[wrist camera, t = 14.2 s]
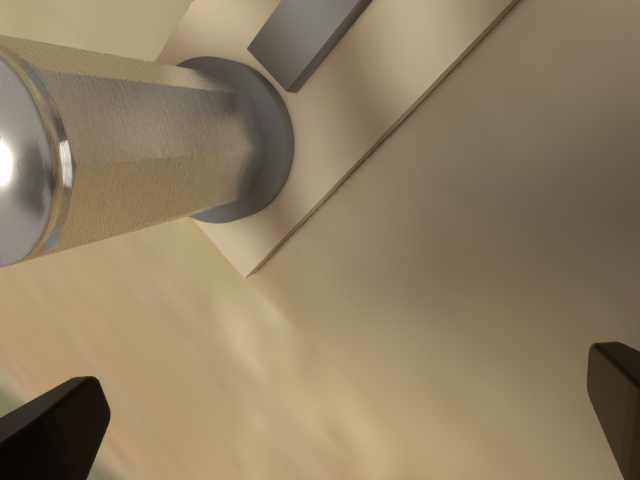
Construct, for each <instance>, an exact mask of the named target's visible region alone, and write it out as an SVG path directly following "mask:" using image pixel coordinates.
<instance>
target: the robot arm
mask: <svg viewBox="0 0 640 480" xmlns="http://www.w3.org/2000/svg"><path fill="white" fill-rule="evenodd" d="M587 390H588V395H589V398H590V400H591V403H592V405H593V408H594V410H595V412H596V415H597V417H598V419H599V422H600V424H601V426H602V429H603V431H604V434H605V436H606V438H607V441H608V443H609V445H610V448H611V450H612V452H613V455H614V457H615V460H616V462H617V464H618V467H619V469H620V471H621V473H622V476H623V478H624V480H640V352H639V351H637V350H635V349H633V348H631V347H629V346H627V345H625V344H622V343H620V342H603V343H594V344H593V345H591V347H590V349H589V357H588V373H587ZM110 414H111V413H110V408H109V405H108V402H107V400H106V397H105V395H104V392H103V390H102V387H101V384H100V382H99V380H98V379H97V378H96V377H93V376H84V377H74V378H72V379H70V380H68V381H66V382H64V383H62V384H61V385H59V386H57V387H55V388H53V389H52V390H50V391H48V392H46V393H44V394H43V395H41V396H39V397H37V398H35V399H34V400H32V401H30V402H28V403H26V404H24V405H23V406H21V407H19V408H17V409H15V410H14V411H12V412H10V413H8V414H6V415H5V416H3V417H1V418H0V480H87V478H88V475H89V473H90V470H91V467H92V465H93V462H94V460H95V457H96V455H97V452H98V450H99V447H100V445H101V442H102V440H103V437H104V435H105V432H106V430H107V427H108V425H109V422H110Z"/></svg>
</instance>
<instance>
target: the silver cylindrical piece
mask: <svg viewBox="0 0 640 480" xmlns="http://www.w3.org/2000/svg"><path fill="white" fill-rule="evenodd" d="M266 151H267V146H266V143H265V140H264V137H263V134H262V131H261V128H260V125H259V122H258V119H257V116H256V113H255V110H254V107H253V104H252V101H251V98H250V95H249V94H247V93H245V92H243V91H241V90H240V89H238V88H236V87H234V86H232V85H230V84H228V83H226V82H225V81H223V80H221V79H219V78H217V77H215V76H213V75H211V74H210V73H208V72H205V71H200V70H194V69H189V68H183V67H177V66H172V65H166V64H161V63H155V62H150V61H144V60H138V59H133V58H127V57H122V56H116V55H111V54H105V53H99V52H94V51H88V50H83V49H77V48H71V47H66V46H60V45H55V44H49V43H44V42H38V41H32V40H27V39H21V38H16V37H10V36H5V35H0V268H1V267H6V266H10V265H13V264H17V263H20V262H24V261H28V260H31V259H35V258H39V257H42V256H46V255H49V254H53V253H57V252H60V251H64V250H68V249H71V248H75V247H78V246H82V245H86V244H89V243H93V242H96V241H100V240H104V239H107V238H111V237H115V236H118V235H122V234H125V233H129V232H133V231H136V230H140V229H144V228H147V227H151V226H154V225H158V224H162V223H165V222H169V221H173V220H176V219H180V218H183V217H187V216H191V215H194V214H198V213H202V212H205V211H208V210H211V209H214V208H217V207H220V206H223V205H226V204H229V203H232V202H235V201H237V200H240V199H243V198H246V197H249V194H250V192H251V189H252V187H253V184H254V182H255V179H256V176H257V174H258V171H259V169H260V166H261V164H262V161H263V159H264V156H265V154H266Z"/></svg>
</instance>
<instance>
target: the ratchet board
mask: <svg viewBox="0 0 640 480" xmlns="http://www.w3.org/2000/svg"><path fill="white" fill-rule="evenodd" d="M518 1H519V0H194V1H193V2H192V4H191V5H190V7H189V9H188V10H187V12H186V13H185V15H184V17H183V18H182V20H181V21H180V23H179V25H178V26H177V28H176V29H175V31H174V33H173V34H172V36H171V37H170V39H169V41H168V42H167V44H166V45H165V47H164V48H163V50H162V52H161V53H160V55H159V56H158V58H157V60H156V61H155V63H161V64H166V65H172V66H177V67H183V68H189V69H194V70H200V71H205V72H208V73H210V74H211V75H213V76H215V77H217V78H219V79H221V80H223V81H225V82H226V83H228V84H230V85H232V86H234V87H236V88H238V89H240V90H241V91H243V92H245V93H247V94H249V95H250V98H251V101H252V104H253V107H254V110H255V113H256V116H257V119H258V122H259V125H260V128H261V131H262V134H263V137H264V140H265V143H266V146H267V151H266V154H265V156H264V159H263V161H262V164H261V166H260V169H259V171H258V174H257V176H256V179H255V182H254V184H253V187H252V189H251V192H250V194H249V197H246V198H243V199H240V200H237V201H235V202H232V203H229V204H226V205H223V206H220V207H217V208H214V209H211V210H208V211H205V212H202V213H198V214H194V215H191V216H189V217H191V218H192V219H193V220H194V221H195V222H196V224H197V225H198V226H199V227H200V228H201V229H202V231H203V232H204V233H205V234H206V235H207V236H208V237H209V239H210V240H211V241H212V242H213V243H214V244H215V245H216V247H217V248H218V249H219V250H220V251H221V252H222V254H223V255H224V256H225V257H226V258H227V259H228V260H229V262H230V263H231V264H232V265H233V266H234V267H235V269H236V270H237V271H238V272H239V273H240V274H241V275H242V277H243V278H244V279H245V278H246V277H248V276H250V275H252V274H254V273H255V272H256V271H257V270H258V269H259V268H260V267H261V266H262V265H263V264H264V263H265V262H266V261H267V260H268V259H269V258H270V257H271V256H272V255H273V254H274V252H275V251H276V250H277V249H278V248H279V247H280V246H281V245H282V244H283V243H284V242H285V241H286V240H287V239H288V238H289V237H290V236H291V235H292V234H293V233H294V232H295V231H296V230H297V229H298V228H299V227H300V226H301V225H302V224H303V223H304V222H305V221H306V220H307V219H308V218H309V216H310V215H311V214H312V213H313V212H314V211H315V210H316V209H317V208H318V207H319V206H320V205H321V204H322V203H323V202H324V201H325V200H326V199H327V198H328V197H329V196H330V195H331V194H332V193H333V192H334V191H335V190H336V189H337V188H338V187H339V186H340V185H341V184H342V183H343V182H344V180H345V179H346V178H347V177H348V176H349V175H350V174H351V173H352V172H353V171H354V170H355V169H356V168H357V167H358V166H359V165H360V164H361V163H362V162H363V161H364V160H365V159H366V158H367V157H368V156H369V155H370V154H371V153H372V152H373V151H374V150H375V149H376V148H377V147H378V145H379V144H380V143H381V142H382V141H383V140H384V139H385V138H386V137H387V136H388V135H389V134H390V133H391V132H392V131H393V130H394V129H395V128H396V127H397V126H398V125H399V124H400V123H401V122H402V121H403V120H404V119H405V118H406V117H407V116H408V115H409V114H410V113H411V112H412V111H413V109H414V108H415V107H416V106H417V105H418V104H419V103H420V102H421V101H422V100H423V99H424V98H425V97H426V96H427V95H428V94H429V93H430V92H431V91H432V90H433V89H434V88H435V87H436V86H437V85H438V84H439V83H440V82H441V81H442V80H443V79H444V78H445V77H446V76H447V75H448V73H449V72H450V71H451V70H452V69H453V68H454V67H455V66H456V65H457V64H458V63H459V62H460V61H461V60H462V59H463V58H464V57H465V56H466V55H467V54H468V53H469V52H470V51H471V50H472V49H473V48H474V47H475V46H476V45H477V44H478V43H479V42H480V41H481V40H482V38H483V37H484V36H485V35H486V34H487V33H488V32H489V31H490V30H491V29H492V28H493V27H494V26H495V25H496V24H497V23H498V22H499V21H500V20H501V19H502V18H503V17H504V16H505V15H506V14H507V13H508V12H509V11H510V10H511V9H512V8H513V7H514V6H515V5H516V4H517V2H518Z"/></svg>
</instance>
